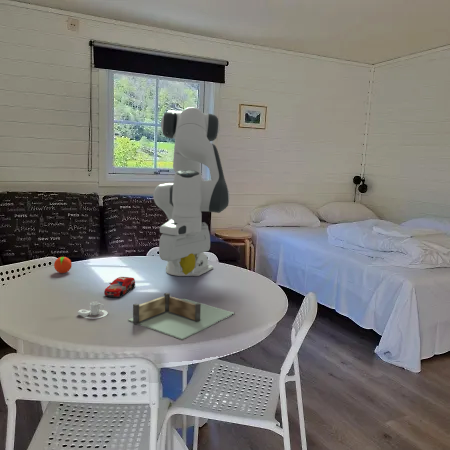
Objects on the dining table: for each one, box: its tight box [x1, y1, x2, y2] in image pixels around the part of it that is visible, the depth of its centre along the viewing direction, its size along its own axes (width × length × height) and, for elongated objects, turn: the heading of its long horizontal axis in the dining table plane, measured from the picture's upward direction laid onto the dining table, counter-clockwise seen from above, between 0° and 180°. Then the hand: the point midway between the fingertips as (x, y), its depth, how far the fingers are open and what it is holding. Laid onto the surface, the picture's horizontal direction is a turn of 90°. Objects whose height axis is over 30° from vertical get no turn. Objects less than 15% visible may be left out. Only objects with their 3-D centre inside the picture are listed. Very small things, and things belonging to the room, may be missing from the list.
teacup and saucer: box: [77, 301, 109, 320], centre depth 138 cm, size 9×8×4 cm
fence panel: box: [169, 295, 201, 321], centre depth 137 cm, size 13×2×5 cm, turn 52°
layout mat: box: [127, 298, 235, 341], centre depth 138 cm, size 26×22×1 cm
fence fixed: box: [132, 292, 171, 325], centre depth 136 cm, size 15×2×6 cm, turn 145°
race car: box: [104, 276, 136, 298], centre depth 161 cm, size 16×7×5 cm, turn 166°
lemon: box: [179, 253, 195, 275], centre depth 132 cm, size 6×6×8 cm
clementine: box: [53, 256, 73, 274], centre depth 182 cm, size 8×7×7 cm
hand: (186, 270), depth 132 cm, fingers closed on lemon, 5 cm apart
